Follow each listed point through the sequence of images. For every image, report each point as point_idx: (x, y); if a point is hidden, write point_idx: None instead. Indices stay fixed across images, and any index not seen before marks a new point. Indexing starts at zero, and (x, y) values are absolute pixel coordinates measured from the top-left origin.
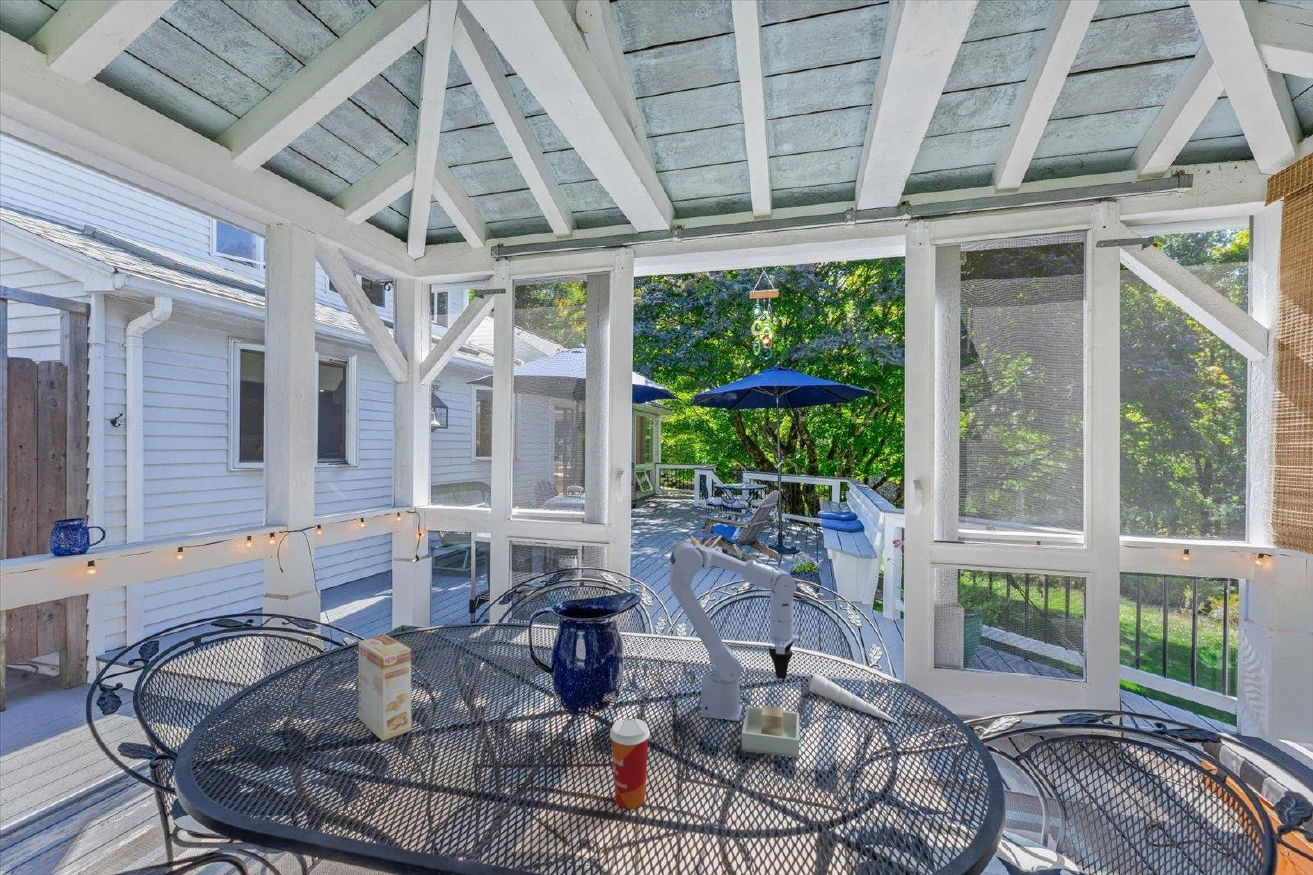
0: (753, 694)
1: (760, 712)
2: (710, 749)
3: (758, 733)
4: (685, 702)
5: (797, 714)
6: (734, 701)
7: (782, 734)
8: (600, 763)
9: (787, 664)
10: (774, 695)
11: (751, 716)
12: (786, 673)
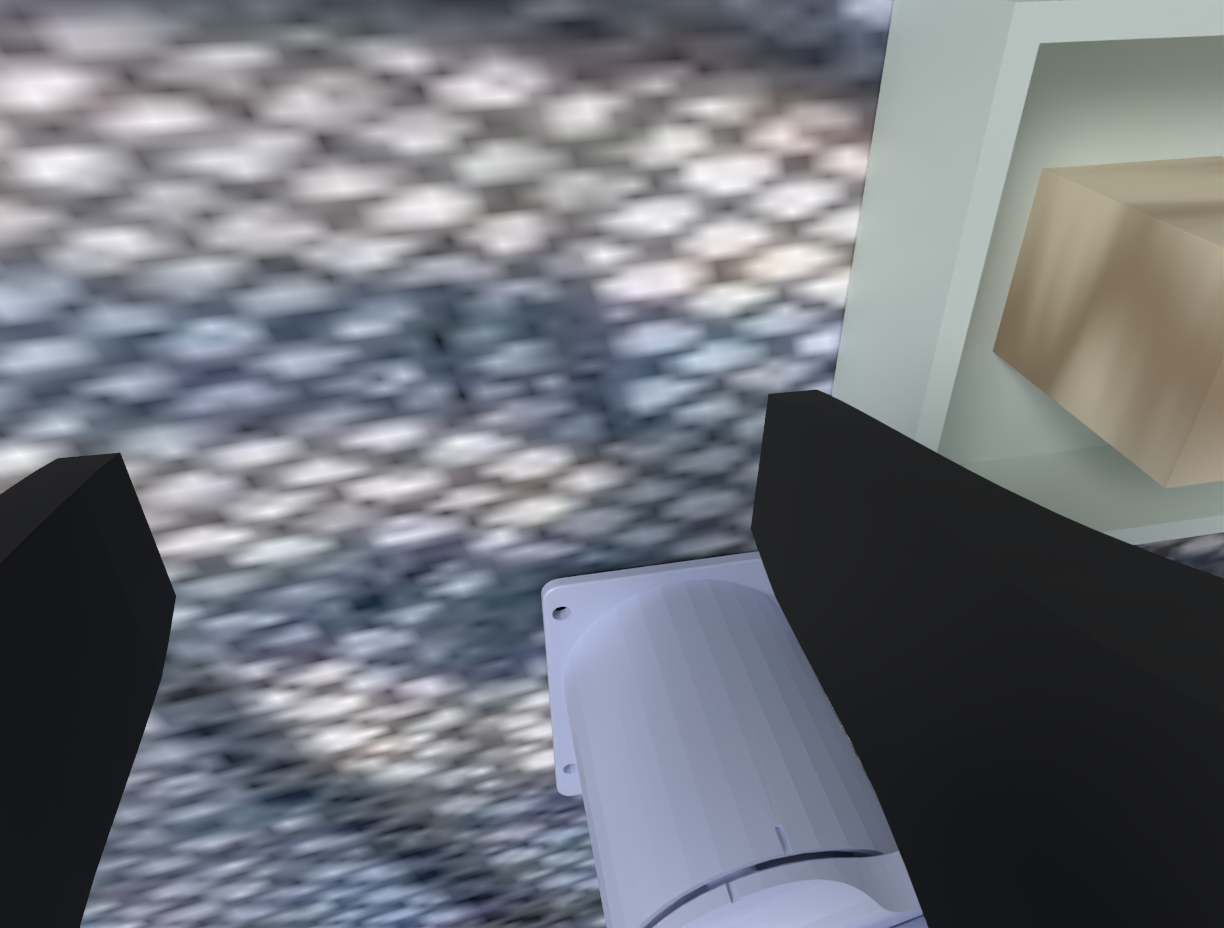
0: (227, 554)
1: None
2: None
3: (1027, 380)
4: (591, 861)
5: (1057, 29)
6: (809, 689)
7: (1173, 174)
8: None
9: (1162, 570)
10: (118, 361)
11: None
12: (895, 434)
